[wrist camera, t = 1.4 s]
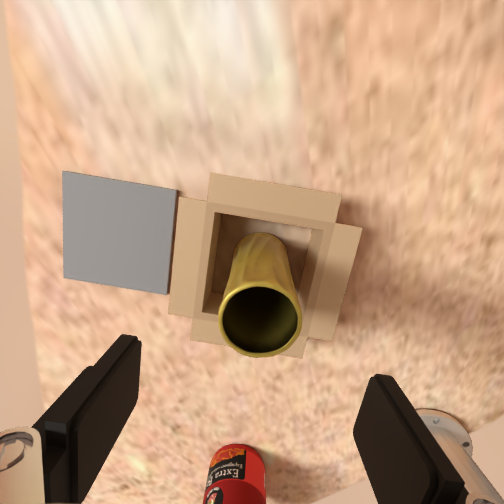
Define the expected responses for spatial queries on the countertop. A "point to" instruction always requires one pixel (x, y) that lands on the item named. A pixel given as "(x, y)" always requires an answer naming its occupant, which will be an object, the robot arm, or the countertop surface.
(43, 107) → the countertop surface
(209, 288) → the carton
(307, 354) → the countertop surface
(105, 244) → the mat
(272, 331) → the vase
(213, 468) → the canned food
